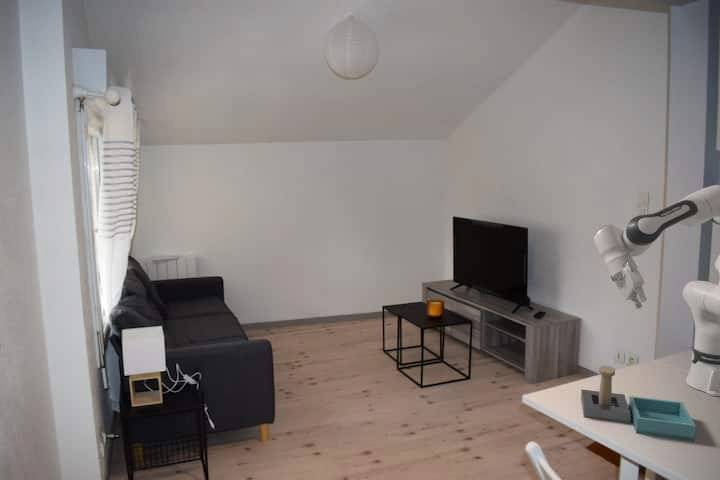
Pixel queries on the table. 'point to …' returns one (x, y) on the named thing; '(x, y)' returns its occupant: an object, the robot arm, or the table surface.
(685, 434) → the bin
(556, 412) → the table surface
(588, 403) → the socket block
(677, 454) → the table surface
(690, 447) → the table surface
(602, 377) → the handle
